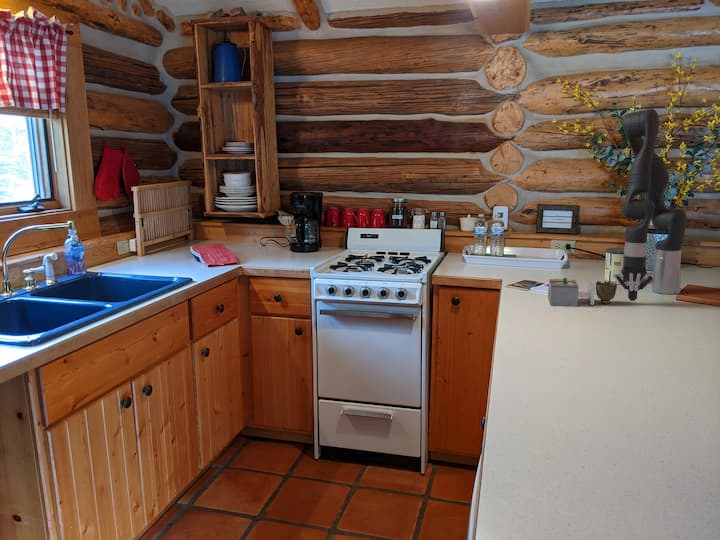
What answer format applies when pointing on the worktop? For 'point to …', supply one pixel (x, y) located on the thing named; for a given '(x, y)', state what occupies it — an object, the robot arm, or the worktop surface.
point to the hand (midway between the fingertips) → (632, 300)
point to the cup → (605, 291)
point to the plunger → (588, 293)
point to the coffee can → (614, 264)
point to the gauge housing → (563, 293)
